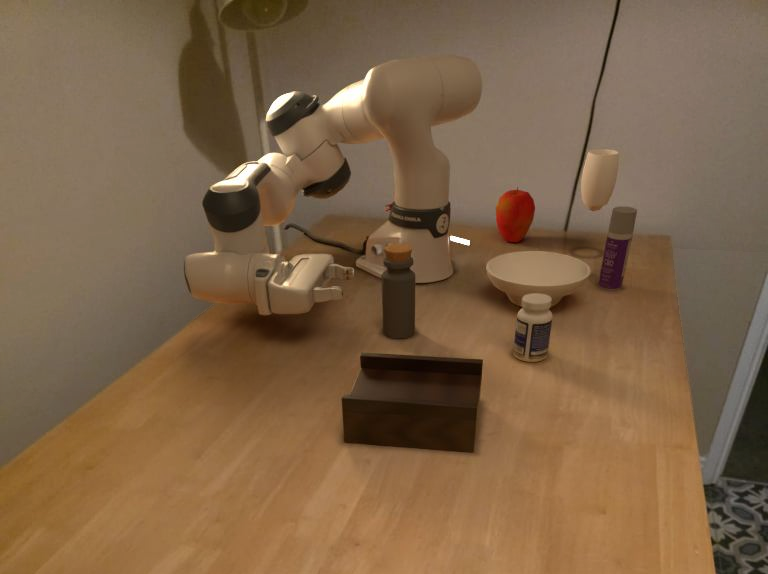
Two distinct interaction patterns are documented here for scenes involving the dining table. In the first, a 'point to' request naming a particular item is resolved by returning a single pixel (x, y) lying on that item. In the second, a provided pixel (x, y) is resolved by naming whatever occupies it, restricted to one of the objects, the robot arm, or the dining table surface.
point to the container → (617, 248)
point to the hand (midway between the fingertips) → (347, 283)
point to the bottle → (398, 292)
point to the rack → (414, 402)
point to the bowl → (537, 274)
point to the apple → (514, 214)
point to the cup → (599, 178)
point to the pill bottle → (533, 328)
